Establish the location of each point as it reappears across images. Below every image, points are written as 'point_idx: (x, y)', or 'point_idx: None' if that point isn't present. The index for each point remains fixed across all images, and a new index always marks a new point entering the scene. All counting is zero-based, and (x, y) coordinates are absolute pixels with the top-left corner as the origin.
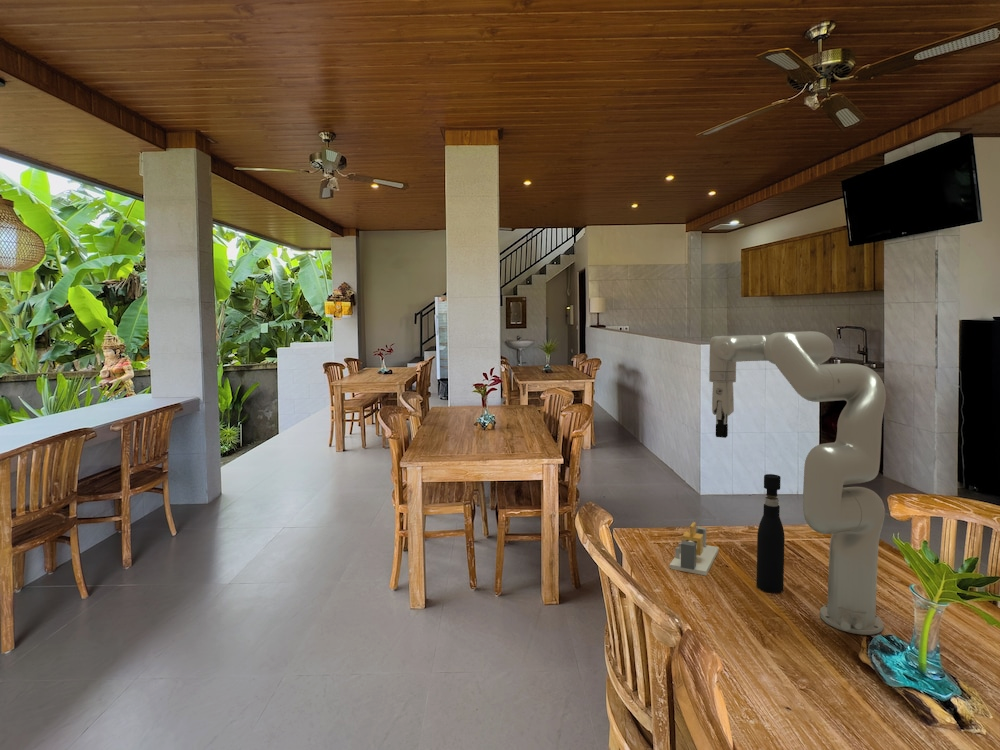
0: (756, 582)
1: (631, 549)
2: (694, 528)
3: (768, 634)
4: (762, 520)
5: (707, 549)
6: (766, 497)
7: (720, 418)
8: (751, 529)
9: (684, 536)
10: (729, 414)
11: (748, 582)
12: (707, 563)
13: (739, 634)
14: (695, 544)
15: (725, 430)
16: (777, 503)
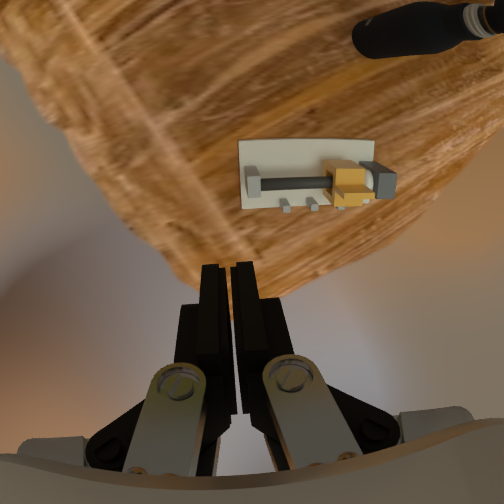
0: (375, 58)
1: (309, 277)
2: (357, 189)
3: (484, 61)
4: (457, 44)
5: (264, 158)
6: (484, 31)
7: (470, 417)
8: (69, 120)
9: (362, 201)
10: (495, 424)
11: (366, 71)
12: (338, 144)
13: (493, 92)
14: (386, 173)
15: (261, 310)
16: (481, 9)
